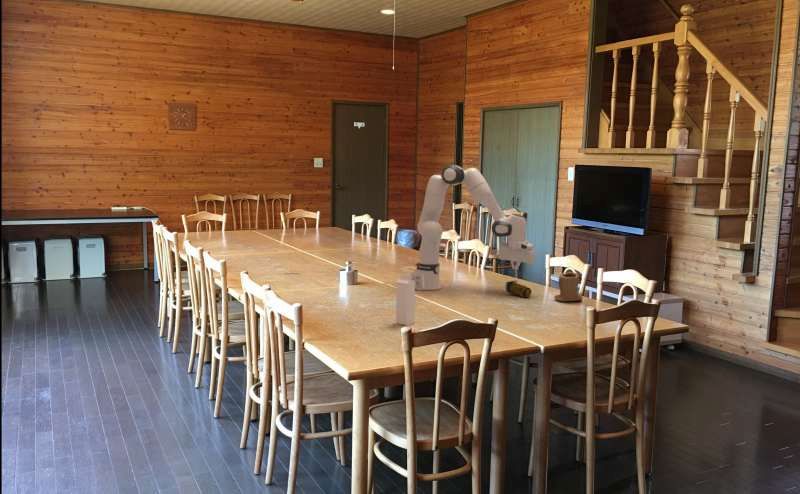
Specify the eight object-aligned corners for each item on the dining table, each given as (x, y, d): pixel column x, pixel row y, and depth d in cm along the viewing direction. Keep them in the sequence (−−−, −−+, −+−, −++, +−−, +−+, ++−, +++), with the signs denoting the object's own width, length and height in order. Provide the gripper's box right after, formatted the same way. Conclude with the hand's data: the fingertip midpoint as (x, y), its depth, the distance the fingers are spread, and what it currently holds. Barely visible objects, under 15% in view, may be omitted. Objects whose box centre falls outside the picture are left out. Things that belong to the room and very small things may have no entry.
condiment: (515, 293, 362) (532, 298, 352) (504, 294, 357) (520, 300, 347) (516, 280, 361) (533, 285, 351) (505, 281, 356) (522, 286, 346)
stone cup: (560, 304, 337) (562, 275, 335) (551, 298, 349) (552, 271, 347) (588, 303, 340) (590, 274, 338) (578, 298, 352) (579, 270, 350)
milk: (403, 320, 299) (404, 273, 296) (414, 323, 296) (415, 274, 293) (395, 323, 294) (396, 274, 292) (406, 325, 291) (407, 276, 288)
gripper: (496, 242, 359) (495, 267, 361) (531, 246, 347) (529, 272, 349) (502, 241, 364) (500, 266, 366) (536, 245, 352) (534, 271, 354)
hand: (515, 269), depth 357 cm, fingers closed
